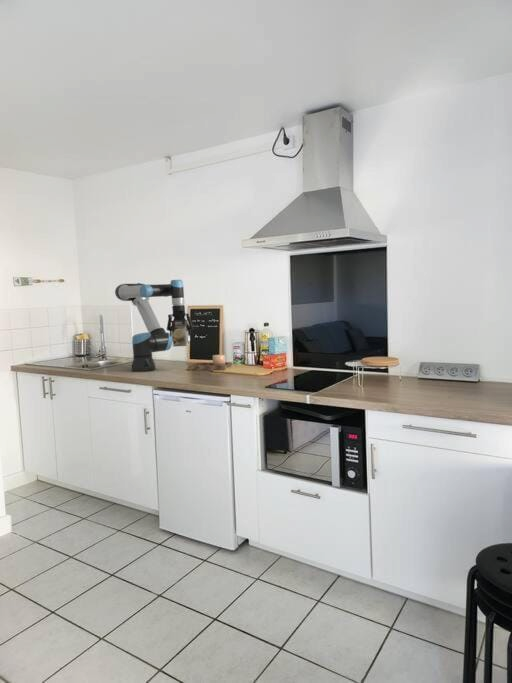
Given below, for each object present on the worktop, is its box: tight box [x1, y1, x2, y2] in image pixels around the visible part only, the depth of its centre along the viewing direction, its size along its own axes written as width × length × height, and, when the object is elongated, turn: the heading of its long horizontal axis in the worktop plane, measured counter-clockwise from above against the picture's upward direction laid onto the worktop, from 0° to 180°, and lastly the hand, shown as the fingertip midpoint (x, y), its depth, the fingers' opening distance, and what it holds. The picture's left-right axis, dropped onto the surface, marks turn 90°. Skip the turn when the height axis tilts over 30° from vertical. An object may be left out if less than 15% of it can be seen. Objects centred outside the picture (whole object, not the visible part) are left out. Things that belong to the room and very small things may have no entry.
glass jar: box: [171, 319, 190, 348], centre depth 300 cm, size 9×6×16 cm
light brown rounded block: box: [212, 354, 226, 366], centre depth 297 cm, size 8×8×8 cm
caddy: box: [187, 361, 233, 371], centre depth 298 cm, size 23×14×4 cm, turn 75°
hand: (181, 341), depth 300 cm, fingers closed on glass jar, 10 cm apart
